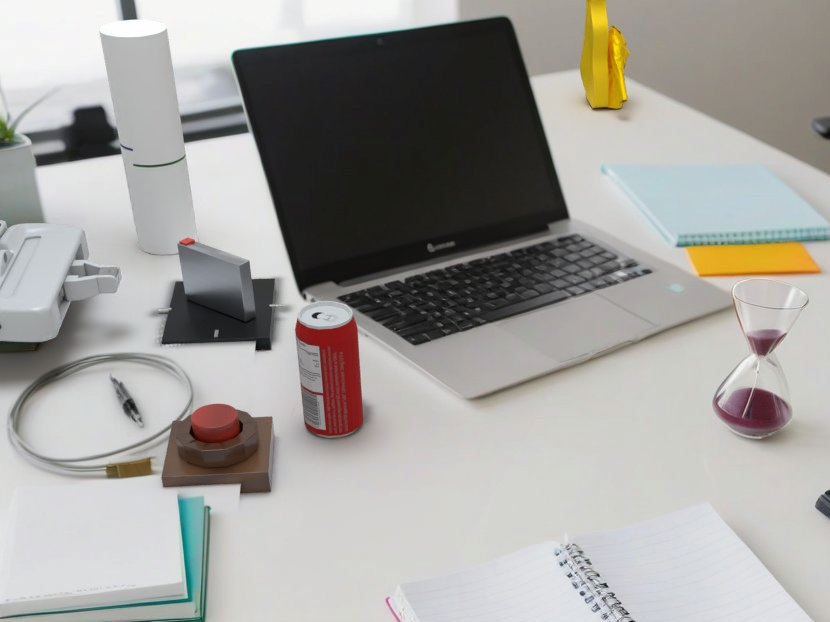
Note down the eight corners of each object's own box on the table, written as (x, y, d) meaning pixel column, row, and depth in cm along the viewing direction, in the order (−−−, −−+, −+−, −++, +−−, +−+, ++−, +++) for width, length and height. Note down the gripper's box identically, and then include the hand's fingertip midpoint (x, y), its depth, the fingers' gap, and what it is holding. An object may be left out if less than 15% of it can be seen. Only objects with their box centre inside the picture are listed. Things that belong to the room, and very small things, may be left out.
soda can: (372, 415, 111) (365, 302, 104) (349, 445, 107) (340, 329, 100) (319, 404, 112) (309, 292, 105) (294, 434, 108) (282, 319, 101)
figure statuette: (636, 121, 182) (650, -30, 168) (587, 122, 181) (597, -30, 167) (613, 86, 196) (624, -56, 182) (568, 87, 195) (576, -56, 181)
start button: (191, 445, 100) (188, 428, 99) (195, 421, 103) (193, 404, 102) (238, 443, 100) (236, 426, 99) (241, 419, 103) (239, 402, 102)
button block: (165, 498, 100) (157, 459, 97) (176, 440, 107) (169, 403, 104) (270, 492, 101) (266, 454, 98) (274, 436, 108) (270, 399, 105)
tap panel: (281, 349, 121) (280, 335, 120) (152, 354, 119) (149, 340, 118) (285, 289, 132) (284, 276, 131) (167, 293, 130) (165, 280, 129)
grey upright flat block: (256, 316, 123) (249, 257, 119) (245, 322, 122) (238, 263, 118) (196, 293, 127) (187, 236, 123) (185, 299, 126) (176, 241, 122)
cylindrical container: (171, 225, 145) (137, 16, 130) (210, 240, 142) (180, 27, 127) (126, 244, 141) (85, 29, 126) (165, 260, 137) (128, 40, 122)
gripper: (-61, 300, 106) (96, 296, 107) (-8, 213, 122) (127, 210, 123) (-43, 360, 109) (108, 356, 111) (6, 268, 126) (137, 265, 127)
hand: (118, 278), depth 117 cm, fingers closed
